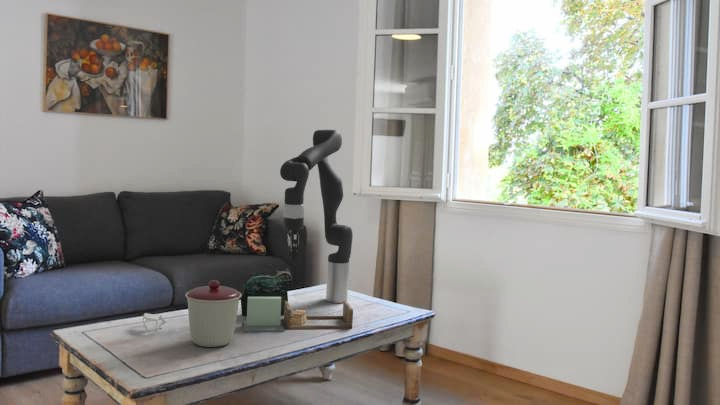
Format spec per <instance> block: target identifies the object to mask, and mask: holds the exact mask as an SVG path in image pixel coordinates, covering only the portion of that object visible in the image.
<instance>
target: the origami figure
mask: <svg viewBox="0 0 720 405" xmlns="http://www.w3.org/2000/svg"><path fill="white" fill-rule="evenodd" d="M142 320H143V326H144V328H145V332H148V325H147V321H152V322H155V326H154V327H153V328H154V329H153V330H154V334H155V335H157V328H159V329H163V330H164V327H162V326H163V325H164V324H167V323H168V320H166V319H164V318H163V315H161V314H152V313H147V312H145V313H144V314H143V316H142ZM159 320H160V321H162V322H161V323H159V325H158V321H159Z"/></svg>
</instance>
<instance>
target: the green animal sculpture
mask: <svg viewBox="0 0 720 405" xmlns="http://www.w3.org/2000/svg"><path fill="white" fill-rule="evenodd" d="M270 266H275V268H276V269H274V274H267V273H263V272H253V273H250V274H249V275H247V277H246V278H245V280H244V285H243V287H242V288H241V290H240V291H241V292H240V293H241V294H242V296H241V297H240V308H241V315H242V316H243V317H247V304H248V297H281V316H282V315H284V305H285V301H288V302H289V295H288V288H290V287H291V285H292V282H293V277H292V275H291V272H290V269H289V267H287V268H286V269H285V270H281V271H279V270H278V266H277V265H276V264H275V263H270V264H268V266H267V268H270ZM257 274H261V275H257ZM252 275H255V276H252ZM251 276H252V277H251ZM250 277H251V278H250Z"/></svg>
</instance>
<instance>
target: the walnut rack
mask: <svg viewBox="0 0 720 405" xmlns="http://www.w3.org/2000/svg"><path fill="white" fill-rule="evenodd" d="M292 317H293V315H292V309H291V307H290V304H289V300H288V301H285V305H284V314H283V320H284V323H285V326H286V328H287V330H320V329H321V330H324V329H325V330H327V329H328V330H329V329H331V330H335V329H338V330H340V329H343V330H344V329H345V330H346V329H350V330H352V329H353V322H354V321H353V320H354V319H353V318H354V309H353V308H352V307H351V305H350V304H349V303H348V300H347V301H343V306H342V315H306V318H307V320H343V321H344V322H345V324H346V325H345V324H342V325H341V324H337V325H335V324H333V325H332V324H330V325H329V324H328V325H325V324H323V325H322V324H321V325H318V324H317V325H313V324H312V325H309V324H308V325H307V324H306V325H305V324H304V325H297V326H290V323H291V318H292Z"/></svg>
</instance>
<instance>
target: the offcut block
mask: <svg viewBox="0 0 720 405" xmlns="http://www.w3.org/2000/svg"><path fill="white" fill-rule="evenodd" d="M306 312H307V311H306V310H305V309H295V310H294V312H292V316H293V317H292V318H291V323H290V326H297V325H305V324H306V323H307V321H308V319H307V318H306V316H307V314H306Z"/></svg>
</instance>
